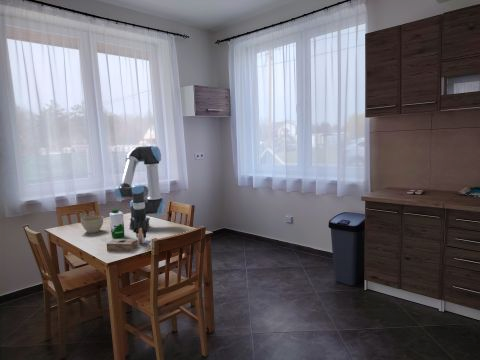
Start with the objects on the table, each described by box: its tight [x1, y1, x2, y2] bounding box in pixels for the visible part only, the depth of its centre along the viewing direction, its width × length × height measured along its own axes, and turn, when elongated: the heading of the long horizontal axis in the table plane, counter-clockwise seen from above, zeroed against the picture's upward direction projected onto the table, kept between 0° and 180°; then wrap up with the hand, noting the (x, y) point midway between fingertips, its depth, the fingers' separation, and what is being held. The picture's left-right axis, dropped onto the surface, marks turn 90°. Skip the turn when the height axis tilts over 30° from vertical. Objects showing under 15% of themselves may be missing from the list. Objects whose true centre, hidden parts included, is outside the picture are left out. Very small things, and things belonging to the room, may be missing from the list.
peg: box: [139, 228, 143, 244], centre depth 225 cm, size 3×3×10 cm
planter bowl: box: [80, 215, 104, 234], centre depth 260 cm, size 16×16×11 cm
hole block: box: [106, 238, 139, 252], centre depth 216 cm, size 10×16×5 cm, turn 81°
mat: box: [137, 239, 152, 247], centre depth 226 cm, size 12×12×1 cm
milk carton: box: [109, 208, 125, 240], centre depth 242 cm, size 9×9×20 cm
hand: (141, 242), depth 226 cm, fingers closed on peg, 2 cm apart
